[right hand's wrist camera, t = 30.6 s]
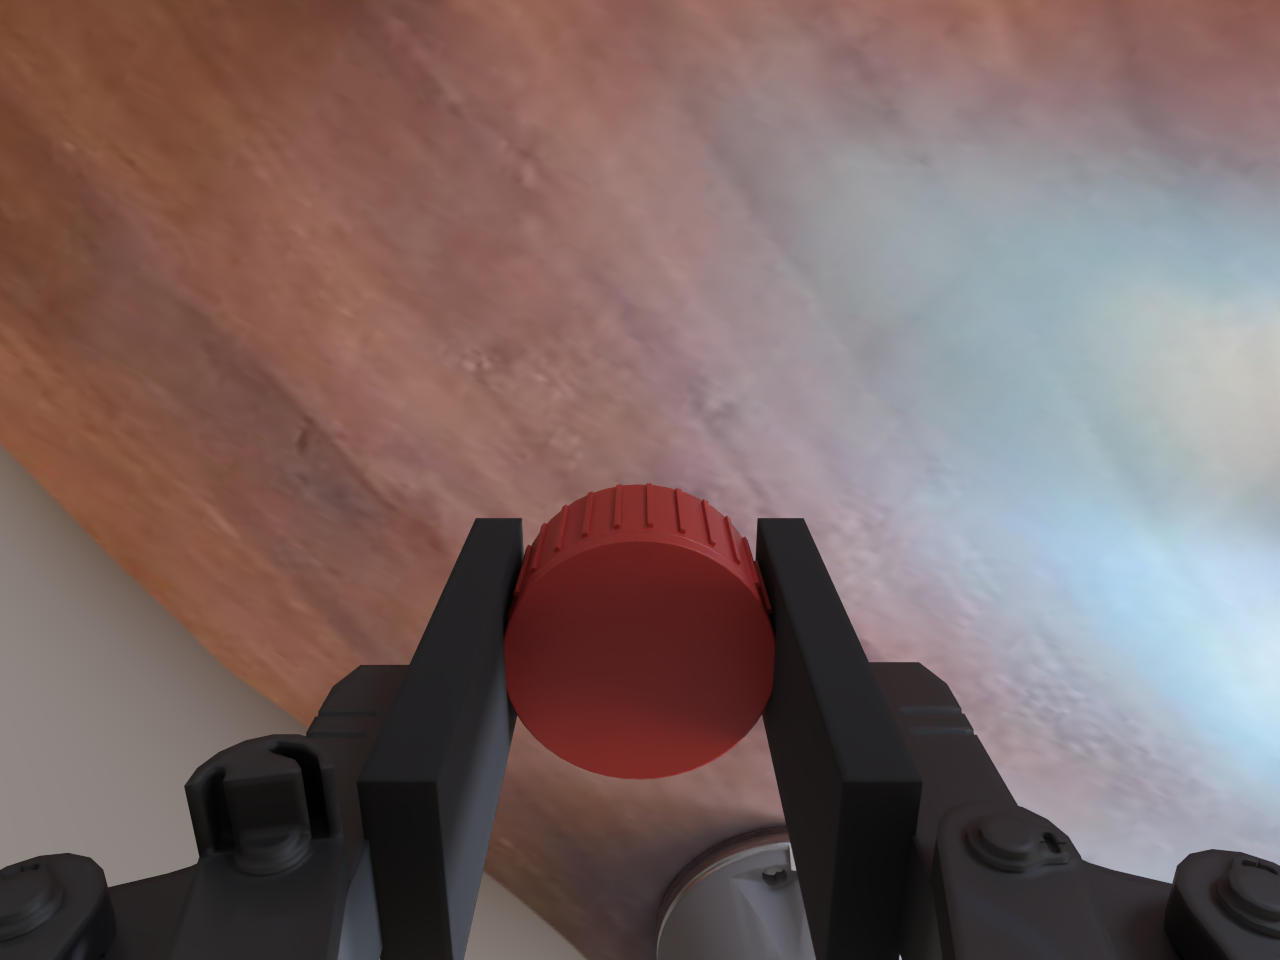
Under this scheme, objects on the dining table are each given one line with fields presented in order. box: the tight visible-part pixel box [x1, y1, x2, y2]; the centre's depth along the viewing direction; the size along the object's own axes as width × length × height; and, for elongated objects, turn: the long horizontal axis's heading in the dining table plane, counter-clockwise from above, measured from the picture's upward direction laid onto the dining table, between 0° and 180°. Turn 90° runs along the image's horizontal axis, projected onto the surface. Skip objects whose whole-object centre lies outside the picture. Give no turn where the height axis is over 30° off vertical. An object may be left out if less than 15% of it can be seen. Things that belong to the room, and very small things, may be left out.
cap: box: [504, 483, 775, 779], centre depth 14 cm, size 4×4×2 cm
